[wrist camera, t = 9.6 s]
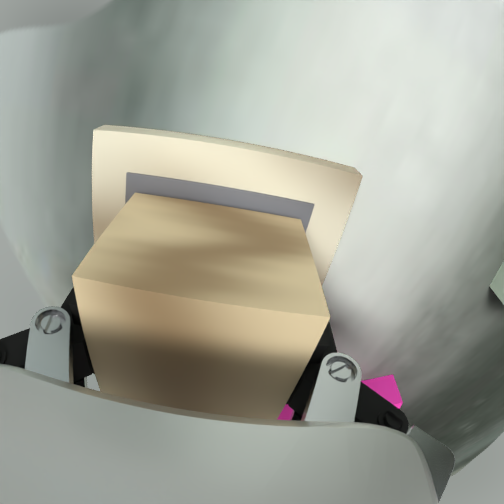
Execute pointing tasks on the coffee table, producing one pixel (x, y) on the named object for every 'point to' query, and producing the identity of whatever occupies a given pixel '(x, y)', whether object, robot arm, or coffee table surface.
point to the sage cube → (499, 283)
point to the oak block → (200, 306)
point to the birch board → (223, 180)
